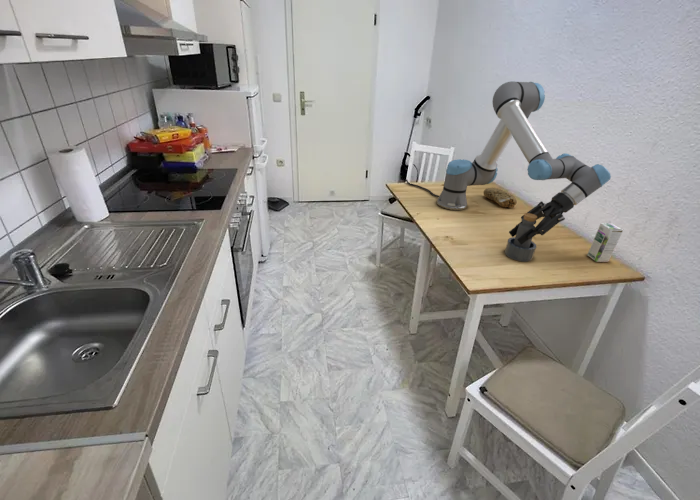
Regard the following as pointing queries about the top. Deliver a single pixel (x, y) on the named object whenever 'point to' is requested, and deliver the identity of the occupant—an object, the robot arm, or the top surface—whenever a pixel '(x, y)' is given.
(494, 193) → the bread loaf
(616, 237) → the syrup box
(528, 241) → the bottle
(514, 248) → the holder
